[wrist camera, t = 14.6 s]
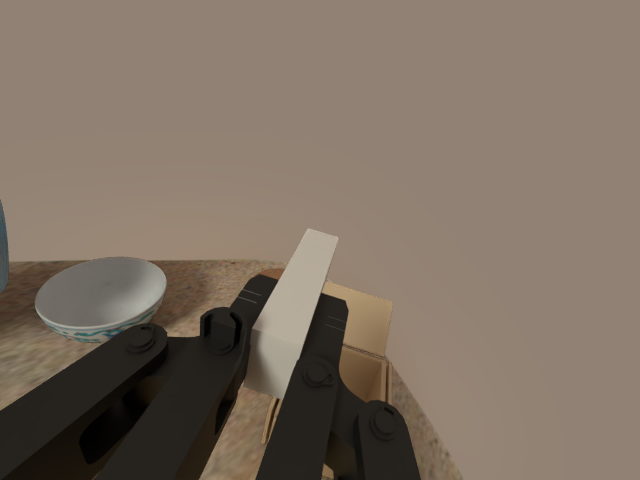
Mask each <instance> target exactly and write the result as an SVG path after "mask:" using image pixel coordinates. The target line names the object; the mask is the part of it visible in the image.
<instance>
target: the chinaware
mask: <svg viewBox="0 0 640 480" xmlns="http://www.w3.org/2000/svg"><path fill="white" fill-rule="evenodd" d="M166 287H167V280H166V276H165V274H164V272H163V271H162V270H161V269H160V268H159V267H158V266H156V265H155V264H153V263H151V262H148V261H145V260H142V259H138V258H131V257H107V258H100V259H94V260H90V261H86V262H82V263H79V264H76V265H74V266H71V267H69V268H67V269H65V270H63V271H61V272H59V273H57V274H56V275H54V276H53V277H51V278H50V279H49V280H47V281H46V282H45V283H44V284H43V285H42V287H41V288H40V289H39V291H38V292H37V294H36V297H35V308H36V311H37V313H38V314H39V316H40V317H41V318H42V320H43V321H44V322H45V323H46V324H47V325H48V326H49V327H50V328H51V329H53V330H54V331H55V332H57V333H59V334H60V335H62V336H64V337H66V338H69V339H72V340H75V341H79V342H85V343H105V342H107V341H108V340H110V339H111V338H113V337H114V336H116V335H117V334H119V333H120V332H122V331H123V330H125V329H127V328H130V327H132V326H134V325H138V324H143V323H148V322H149V321H150V320H151V319H152V317H153V316H154V315H155V314H156V312H157V311H158V309H159V307H160V305H161V303H162V301H163V298H164V295H165V292H166Z"/></svg>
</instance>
